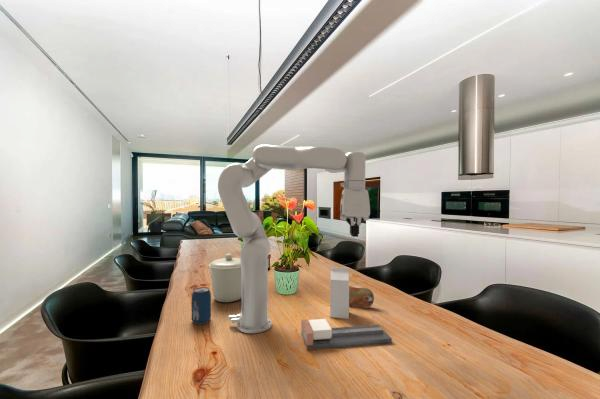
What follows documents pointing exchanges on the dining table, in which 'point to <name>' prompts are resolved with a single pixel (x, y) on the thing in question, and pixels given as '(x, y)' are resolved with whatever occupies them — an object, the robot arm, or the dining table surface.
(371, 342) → the rail
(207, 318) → the soda can
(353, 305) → the tin
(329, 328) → the slider
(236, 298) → the canister
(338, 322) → the dining table surface
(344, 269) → the milk carton
